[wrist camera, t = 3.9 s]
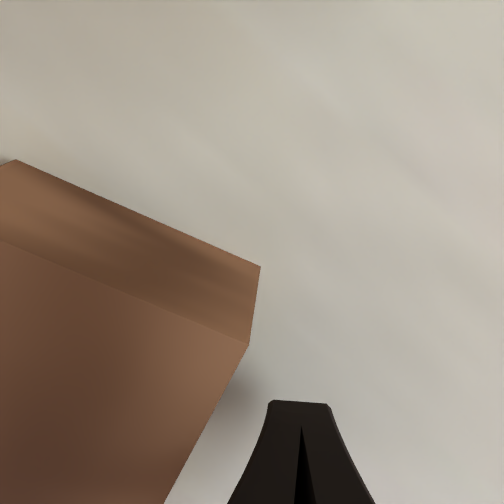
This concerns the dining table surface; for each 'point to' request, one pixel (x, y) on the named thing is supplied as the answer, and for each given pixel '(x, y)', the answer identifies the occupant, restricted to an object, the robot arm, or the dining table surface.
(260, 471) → the robot arm
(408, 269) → the dining table surface
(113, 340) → the slab
